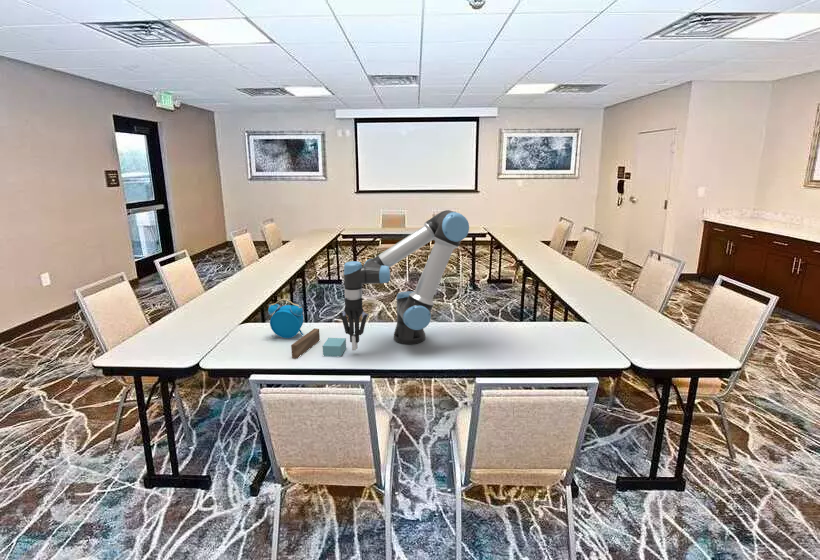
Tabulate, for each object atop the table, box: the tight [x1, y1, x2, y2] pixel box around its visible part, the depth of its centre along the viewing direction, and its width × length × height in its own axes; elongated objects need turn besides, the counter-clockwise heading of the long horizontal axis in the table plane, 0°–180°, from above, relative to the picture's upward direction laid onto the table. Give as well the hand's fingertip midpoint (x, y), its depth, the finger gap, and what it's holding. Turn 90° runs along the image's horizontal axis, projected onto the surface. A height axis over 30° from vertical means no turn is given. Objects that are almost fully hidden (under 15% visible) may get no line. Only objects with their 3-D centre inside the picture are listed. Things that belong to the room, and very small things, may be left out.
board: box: [290, 328, 321, 359], centre depth 214 cm, size 2×22×6 cm, turn 165°
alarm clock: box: [267, 298, 304, 339], centre depth 228 cm, size 17×10×20 cm, turn 84°
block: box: [322, 337, 347, 357], centre depth 211 cm, size 8×10×5 cm
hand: (354, 349), depth 208 cm, fingers closed
